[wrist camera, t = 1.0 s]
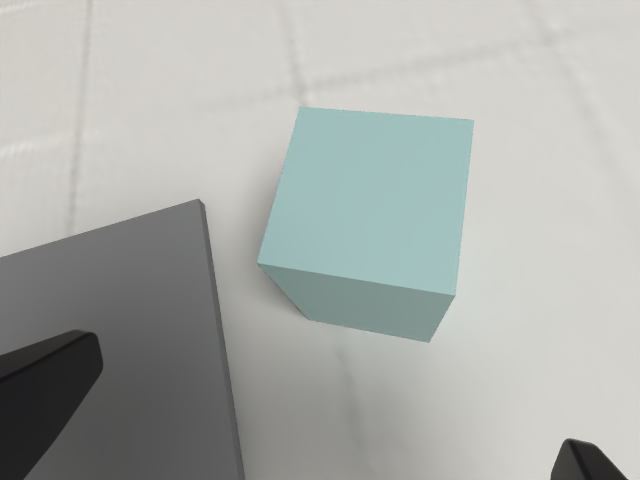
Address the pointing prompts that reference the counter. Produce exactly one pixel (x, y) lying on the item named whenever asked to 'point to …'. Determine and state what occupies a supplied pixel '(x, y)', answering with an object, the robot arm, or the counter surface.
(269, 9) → the counter surface
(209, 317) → the mat
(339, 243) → the pale teal box
